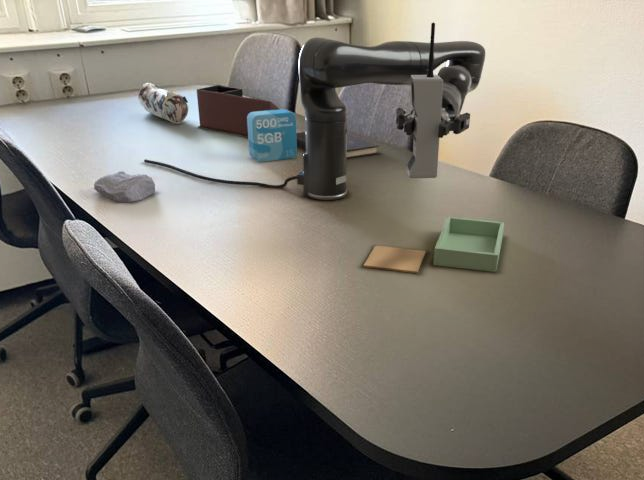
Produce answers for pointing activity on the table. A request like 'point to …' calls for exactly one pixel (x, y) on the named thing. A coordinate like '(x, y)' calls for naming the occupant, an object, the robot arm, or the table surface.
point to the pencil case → (163, 103)
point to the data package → (272, 135)
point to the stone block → (125, 186)
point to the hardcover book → (354, 146)
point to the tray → (469, 244)
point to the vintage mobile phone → (426, 119)
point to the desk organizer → (227, 109)
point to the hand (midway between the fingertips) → (424, 130)
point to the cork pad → (395, 259)
